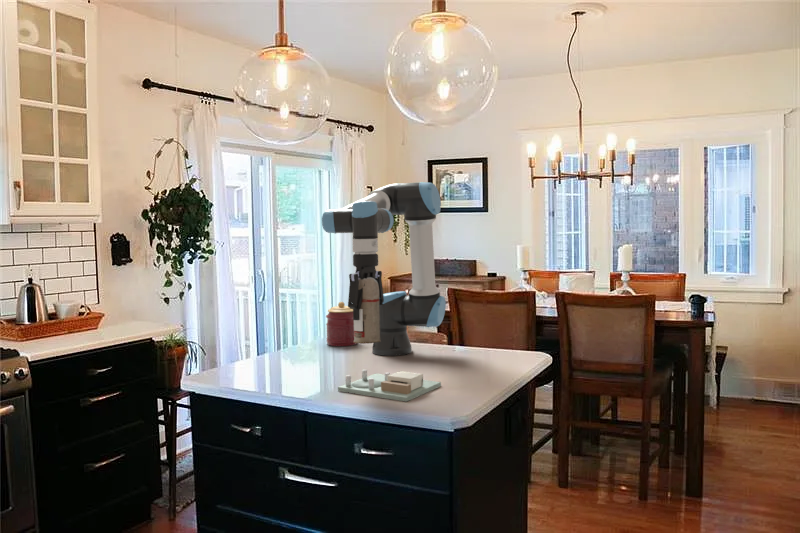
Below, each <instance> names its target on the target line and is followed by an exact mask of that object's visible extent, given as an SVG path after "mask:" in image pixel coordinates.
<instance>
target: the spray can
mask: <svg viewBox="0 0 800 533" xmlns="http://www.w3.org/2000/svg"><path fill="white" fill-rule="evenodd" d="M364 284H365V286H364ZM362 287H363V299H362V304H361V308H360V309H363V331H354V341H353V342H354V343H357V344H365V345H366V344H373V343H375V342H381V340H380V313H379V310H380V309H379V286H378V282H377V280H375V279H374V278H372V277H369V278H364V279H362V280H361V278H359V288H358V290H360V289H362ZM357 305H358V304H357Z"/></svg>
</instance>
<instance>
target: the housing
mask: <svg viewBox="0 0 800 533" xmlns="http://www.w3.org/2000/svg"><path fill="white" fill-rule="evenodd" d="M423 380H424V374H423V373H419V372H411V371H403V370H400V371H397V372H394V373H390V375H388V381H390V382H397V383H398V381H400V382H403V383H404V384H411V391H412V390H414V389H416V388H419V387H421V386H423Z"/></svg>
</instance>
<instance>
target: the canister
mask: <svg viewBox="0 0 800 533" xmlns="http://www.w3.org/2000/svg"><path fill="white" fill-rule="evenodd" d="M327 312H328V313H327V315H326V316H325V318H326V320H327V322H326V324H325V325H326V339H325V340H326V343H327V344H326V345H328V346H330V347H331V346H332V347H349V346H354V345H355V346H356V345H357V344H358V343H354V342H353V341H354V319H353V309H350V307H348V305H345V303H344V302H343V301H340V302H338V304H337V306H336V305H335V306H332V307H331V308H329V309H328V310H327Z"/></svg>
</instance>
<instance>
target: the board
mask: <svg viewBox="0 0 800 533" xmlns="http://www.w3.org/2000/svg"><path fill="white" fill-rule="evenodd" d="M388 375H391V373H390V372H384V374H382V373H374V374H371V375H368V369H361V378H359V379H356V380H354V381H352V376H351V374H348V375H347V374H346V375H345V383H344V384H343V385H339V386H337V391H338V392H343V393H348V392H349V393H350V394H354V393H355V394H356V395H362V396H367V397H368V396H369V397H375V398H381V399H387V400H393V401H399V402H405V403H406V402H409V401H411V400H414V399H415V398H417V397H420V396H422V395H425V394H427V393H428V392H431V391H433V390H435V389H437V388H440V387H442V382H441V381H435V380H434V381H433V380H427V379H423V386H421V387H419V388H416V389H414V390H412V391H411V384H404V383H403V382H400V381H398V383H397V382H390V381H388ZM355 394H354V395H355Z"/></svg>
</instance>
